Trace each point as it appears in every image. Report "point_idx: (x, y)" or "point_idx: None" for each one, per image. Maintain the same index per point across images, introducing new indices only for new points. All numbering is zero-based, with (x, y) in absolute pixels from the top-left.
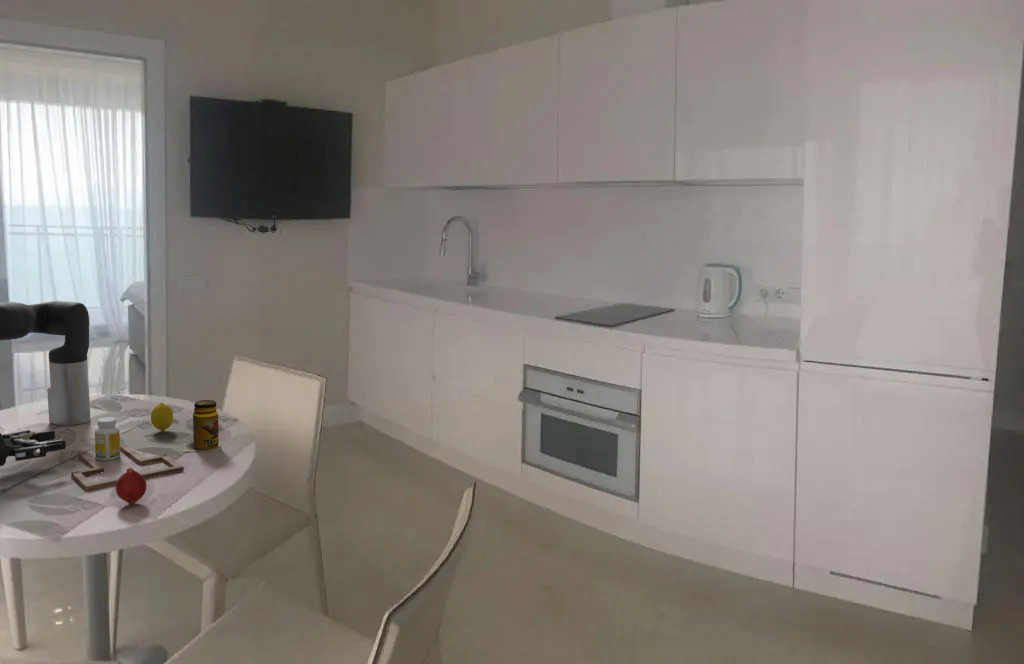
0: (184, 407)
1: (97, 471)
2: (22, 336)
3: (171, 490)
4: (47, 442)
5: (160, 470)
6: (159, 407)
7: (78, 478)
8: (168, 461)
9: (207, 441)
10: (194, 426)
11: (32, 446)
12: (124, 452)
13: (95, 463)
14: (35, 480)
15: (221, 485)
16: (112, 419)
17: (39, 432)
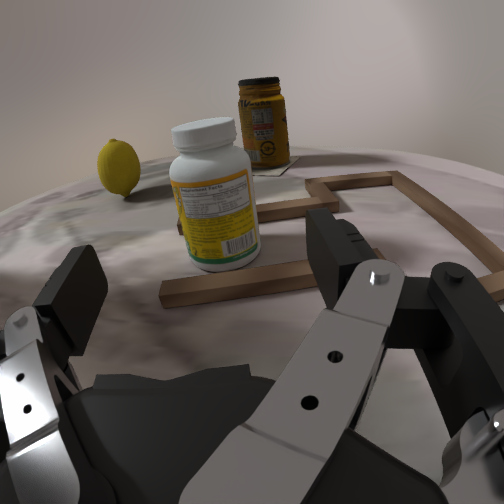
0: (55, 191)
1: None
2: None
3: (494, 195)
4: (356, 260)
5: (415, 186)
6: (118, 145)
7: None
8: (357, 178)
9: (288, 145)
10: (268, 122)
11: (476, 337)
12: None
13: None
14: (408, 462)
15: (465, 167)
16: (215, 118)
17: (46, 293)
